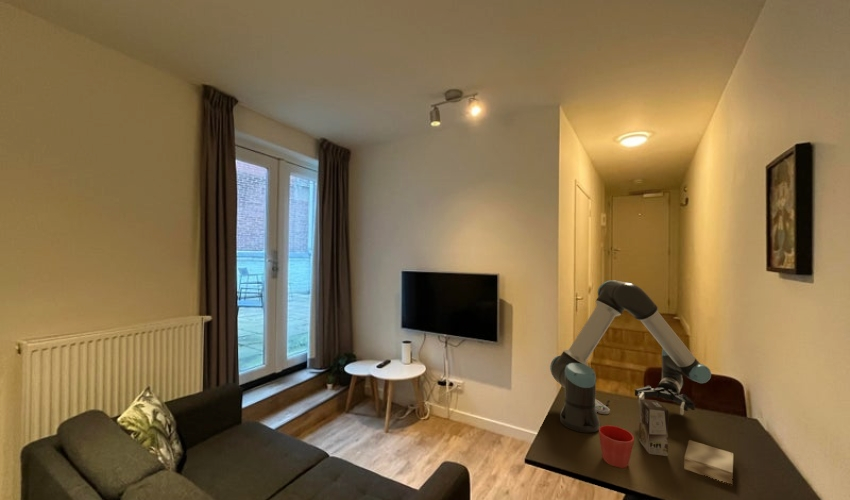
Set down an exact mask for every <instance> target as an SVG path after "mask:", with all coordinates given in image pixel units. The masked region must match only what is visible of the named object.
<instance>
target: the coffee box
mask: <svg viewBox="0 0 850 500" xmlns="http://www.w3.org/2000/svg"><path fill="white" fill-rule="evenodd" d="M638 404H639V407H638V409H639V414H638V415H639V419H638V420H639V421H638V423H639V425H638V426H639V427H638V429H639V430H638V432H639V434H638V435H639V436H638V437H639V439H638V440H639V443H640V444H641V445H642V446H643V448H644V449H645V450H646V452H647V453H648V455H656V456H657V455H658V456H664V457H668V455H669V454H668V453H669V451H668V450H669V409H667V408H666V407H665V406H664V405H663V404H662V403H661V402H659V400H656V399H644V400H642V399H640V403H639V402H638Z"/></svg>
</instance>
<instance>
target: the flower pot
mask: <svg viewBox="0 0 850 500" xmlns="http://www.w3.org/2000/svg"><path fill="white" fill-rule="evenodd" d="M598 436H599V441H600V450H601V456H602V459H603V461H604V462H605V463H607V464H608V465H610V466H612V467H615V468H621V469H624V468H626V467H629V463H630V459H631V456H632V451H633V446H634V442H635V437H634V435H633V434H632V433H631V432H630V431H628V430H627V429H625V428H622V427H619V426H616V425H602V426H600V428H599V430H598Z"/></svg>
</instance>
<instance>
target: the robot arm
mask: <svg viewBox="0 0 850 500" xmlns="http://www.w3.org/2000/svg"><path fill="white" fill-rule="evenodd" d="M595 304H596V306H595V307H594V309H593V311H592V312H591V315H590V316H589V317H588V318H587V321H586V322H585V324H584V326H583V327H582V328H581V330H580V332H579V333H578V335H577V336H576V337H575V340H574V341H573V342H572V344H571V345H570V347H569V348H568V349H565V350H563V351H562V353H561V355H557V356H555V357H554V358H553V359H552V360H551V363H550V366H549V367H550V368H549V369H550V373H551V375H552V377H553V378H554V380H555V381H556V382H558V384H559V385H560V386H562V387H563V388H564V403H563V406H562V409H561V411H560V414H559V420H560V423H561V424H562V425H563V426H564V427H566V428H567V429H570V430H572V431H576V432H579V433H586V434H588V433H589V434H590V433H595V432H599V428H600V427H601V426H600V425H601V424H600V423H601V421H600V419H599V414H598V413H597V412H596V409H595V399H596V390H597V389H596V388H597V386H596V385H597V384H596V383H597V378H596V372H595V369H593V368H592V367H591V366H589V365H588V359H589V358H590V357H591V355H592V354H593V352H594V350H596V347H597V346H598V344H599V342H600V341H601V339H602V338H603V337H604V335H605V333H606V332H607V330H608V329H609V327H610V325H611V324H612V322H613V321H614V319H615V317H619V316H621V315H622V314H623V312H624V311H627V312H628V313H629V314H631V315H632V316H633V318H634V319H635V320H637V321H640V322H641V323H642V325H643V326H644V327H645V328H646V329H647V330H648V332H649V333H650V335H652V337H653V338H654V339H655V340H656V341H657V343H658V344H659V345H660V346H661V348H662V349H661V350H662V351H661V380H660V382H659V383H658V385H657V387H654V388H652V386H651V385H646V386H644V387H640V388H635V389H634V396H635V397H637V400H638V404H639V403H640V399H642V400H645V398H655V399H658V398H659V399H660V398H661V399H663V400H665V401H671V402H672V403H676V404H677V405H679V406H680V407H679V410H680V411H679V415H681V416H683V415H684V413H685V411H686V412H688V411H689V409H690V410H691V411H696V410H695V409H696V407H695V406H696V405H695V404H696V403H695V402H694V401H692V400H691V399H690V397H688V396H687V393H681V394H680V392H681V389H682V388H683V386H684V379H683V377H685V378H687V379H689V380H691V381H692V382H697V383H699V384H706V383H707V382H709V381H710V379H711V378H712V372H711V369H710V368H709V367H708V366H706V365H705V364H703V363H700V362H699V360H698V359H697V358H696V356H694V354H693V353H692V352H691V351H690V350H689V348H688V347H687V345H686V344H685V343H684V342H683V341H682V340H681V338H680V337H679V336H678V335H677V334H676V332H675V331H674V330H673V329H672V327H671V326H670V325H669V323H668V322H667V321H666V320H665V319H664V317H663V316H662V315H661V313H660V312H659V311H658V310H659V307H658V306H657V304H656V303H655V302H654V300H653V299H652V298H651V297H650V296H649V295H648V294H647V293H646V292H645V290H644V289H642V288H641V287H639V286H638V285H636V284H635V283H631V282H626V281H621V280H617V279H615V280H607V281H605V282H602V283H601V284H600V286H599V287H598V289H597V298H596V300H595Z"/></svg>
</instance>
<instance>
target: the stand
mask: <svg viewBox="0 0 850 500" xmlns="http://www.w3.org/2000/svg"><path fill="white" fill-rule="evenodd" d="M683 458H684V461H683V462H684V465H683V469H684V470H687V471H690V472H692V473H696V474H697V475H701V476H704V475H705V476H704V477H706V476H708V477H707V478H709V477H710V478H709V479H712V478H713V480H715V479H717V480H716V481H718V480H719V481H718V482H721V481H723V482H722V483H724V482H727V483H731V484H732V485H733V480H732V479H733V478H734V477H733V476H734V475H733V473H734V453H733V452H730V451H728V450H724V449H720V448H717V447H714V446H711V445H707V444H704V443H702V442H701V443H700V442H698V441H694V440H691V439H689V440H688V443H687V446H686V450H685V454H684V457H683Z"/></svg>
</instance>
